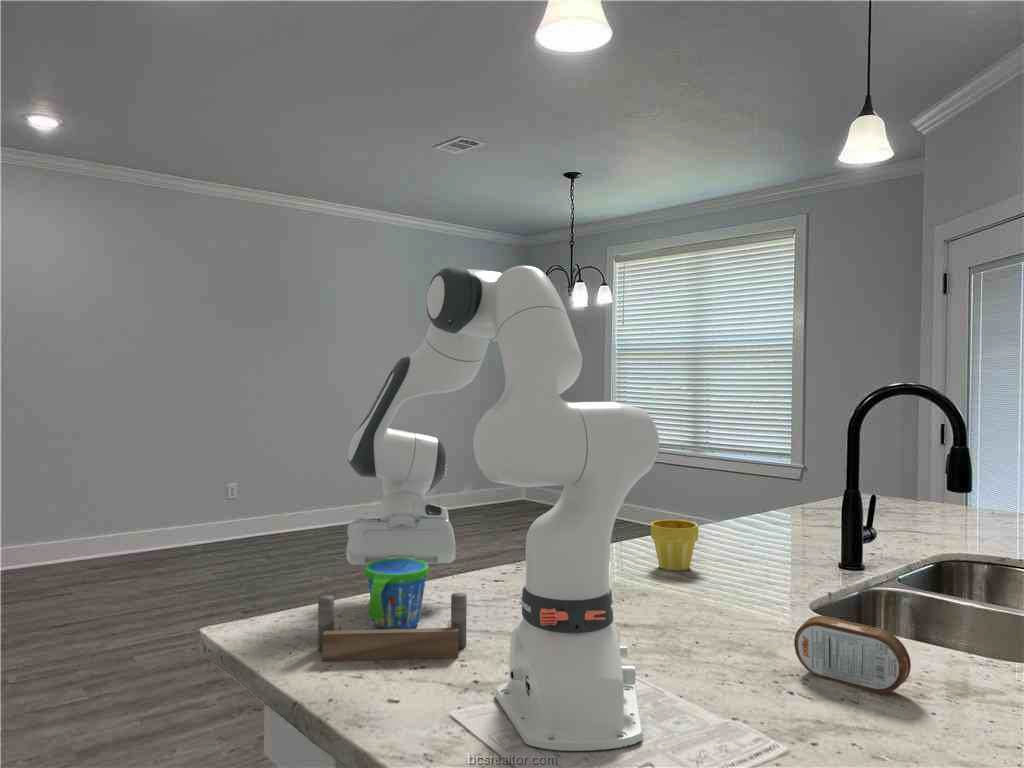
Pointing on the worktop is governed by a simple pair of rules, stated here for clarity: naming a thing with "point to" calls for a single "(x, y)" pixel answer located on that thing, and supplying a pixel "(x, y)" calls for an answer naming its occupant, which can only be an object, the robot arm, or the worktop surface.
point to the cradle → (390, 637)
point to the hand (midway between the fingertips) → (400, 582)
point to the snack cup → (396, 592)
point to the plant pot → (674, 543)
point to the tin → (852, 654)
